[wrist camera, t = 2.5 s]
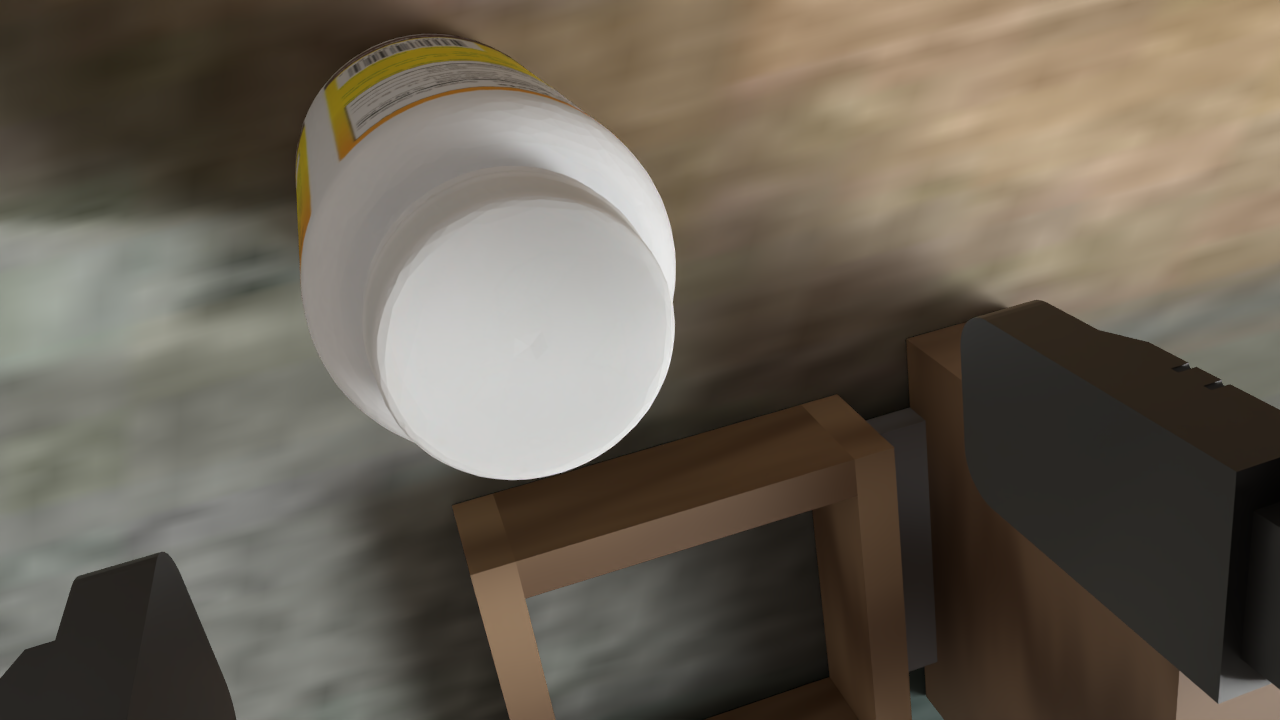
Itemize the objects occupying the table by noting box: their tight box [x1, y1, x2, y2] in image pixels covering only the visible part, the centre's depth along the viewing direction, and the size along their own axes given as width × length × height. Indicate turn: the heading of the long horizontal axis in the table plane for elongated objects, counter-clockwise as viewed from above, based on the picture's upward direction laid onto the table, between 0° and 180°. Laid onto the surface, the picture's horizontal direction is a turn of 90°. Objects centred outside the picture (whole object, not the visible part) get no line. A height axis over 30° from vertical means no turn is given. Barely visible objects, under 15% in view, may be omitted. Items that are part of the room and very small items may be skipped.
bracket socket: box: [452, 322, 1280, 720], centre depth 25 cm, size 12×15×10 cm
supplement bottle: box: [295, 34, 676, 480], centre depth 19 cm, size 6×6×10 cm
